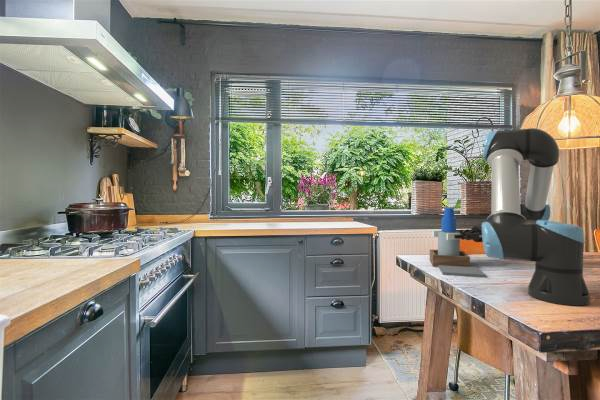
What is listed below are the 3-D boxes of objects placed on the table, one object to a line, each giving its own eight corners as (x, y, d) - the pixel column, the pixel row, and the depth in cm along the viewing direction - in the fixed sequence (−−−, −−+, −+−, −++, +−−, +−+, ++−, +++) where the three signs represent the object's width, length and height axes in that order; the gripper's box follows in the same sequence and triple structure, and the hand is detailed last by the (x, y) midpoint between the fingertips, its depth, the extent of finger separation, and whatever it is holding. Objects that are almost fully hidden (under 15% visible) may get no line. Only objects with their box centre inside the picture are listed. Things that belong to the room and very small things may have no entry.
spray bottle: (433, 263, 154) (434, 207, 153) (444, 261, 159) (444, 207, 159) (453, 267, 147) (454, 208, 146) (463, 264, 152) (464, 207, 152)
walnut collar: (469, 268, 144) (470, 256, 144) (432, 266, 148) (433, 255, 148) (463, 261, 158) (463, 251, 158) (429, 260, 162) (429, 249, 162)
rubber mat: (485, 277, 130) (485, 274, 130) (442, 274, 134) (442, 272, 134) (477, 269, 143) (477, 267, 143) (438, 267, 147) (438, 265, 147)
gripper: (502, 245, 147) (456, 247, 141) (465, 238, 168) (425, 240, 162) (502, 228, 147) (457, 229, 141) (466, 223, 167) (425, 224, 162)
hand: (440, 235), depth 151 cm, fingers closed on spray bottle, 9 cm apart
